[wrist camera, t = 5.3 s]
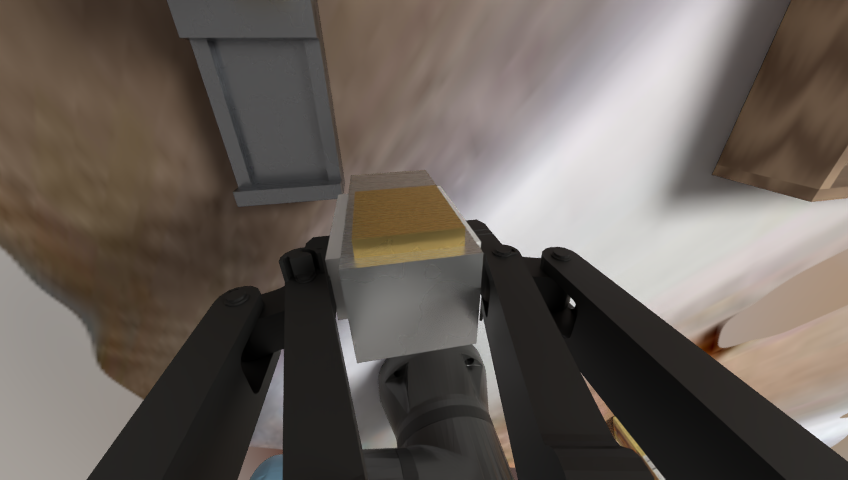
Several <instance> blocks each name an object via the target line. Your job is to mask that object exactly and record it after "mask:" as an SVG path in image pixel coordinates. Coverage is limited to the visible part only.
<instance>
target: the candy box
mask: <svg viewBox="0 0 848 480" xmlns="http://www.w3.org/2000/svg"><path fill="white" fill-rule="evenodd" d="M613 425H614V426H613V427H614V436H615V438H616V439H617V441H618V442H619V444H620V445H621V446H623V447H626V448H630V449H632V450H634V451H635V452H636V453H637V454H638V455H639V456H640V457H641V458H642V460H643V461H644V463H645V464H646V466H647V467H648V469H649V470H650V472H651V473H652V475H653V477H654V479H655V480H665V478H664V477H663V476H662V475H661V473H660V472H659V471H658V470H657V468H656V467H655V466H654V464H653V463H652V462H651V461H650V459H649V458H648V457H647V456H646V454H645V453H644V452H643V451H642V449H641V448H640V447H639V445H638V444H637V443H636V442H635V440H634V439H633V438H632V437H631V435H630V434H629V433H628V432H627V430H626V429H625V428H624V426H623V425H622V424H621V423H620V421H619V420H618V419H617V418H616V416H614V417H613Z"/></svg>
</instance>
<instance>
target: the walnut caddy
mask: <svg viewBox="0 0 848 480" xmlns="http://www.w3.org/2000/svg"><path fill="white" fill-rule="evenodd" d="M712 175H715V176H719V177H722V178H726V179H729V180H733V181H737V182H740V183H744V184H748V185H751V186H755V187H759V188H762V189H766V190H770V191H773V192H777V193H781V194H784V195H788V196H791V197H795V198H799V199H802V200H806V201H810V202H815V201H825V200H834V199H843V198H848V0H791V2H790V5H789V7H788V9H787V11H786V13H785V16H784V18H783V20H782V22H781V24H780V27H779V29H778V31H777V33H776V35H775V38H774V40H773V42H772V44H771V46H770V49H769V51H768V53H767V55H766V57H765V60H764V62H763V64H762V66H761V68H760V71H759V73H758V75H757V77H756V79H755V82H754V84H753V86H752V88H751V90H750V93H749V95H748V97H747V99H746V101H745V104H744V106H743V108H742V110H741V112H740V115H739V117H738V119H737V121H736V123H735V126H734V128H733V130H732V132H731V134H730V137H729V139H728V141H727V143H726V145H725V148H724V150H723V152H722V154H721V156H720V159H719V161H718V163H717V165H716V167H715V170H714V172H713V174H712Z"/></svg>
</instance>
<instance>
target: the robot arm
mask: <svg viewBox="0 0 848 480" xmlns="http://www.w3.org/2000/svg"><path fill="white" fill-rule="evenodd" d="M437 187H438V188H439V190H440V191H441V193H442V194H443V196H444V197H445V198H446V200H447V201H448V203H449V204H450V206H451V207H452V208H453V210H454V211H455V213H456V214H457V216H458V217H459V218H460V220H461V221H462V223H463V224H464V226H465V227H466V228H467V230H468V231H469V233H470V234H471V236H472V237H473V238H474V240H475V241H476V243H477V244H478V246H479V247H480V249H481V250H482V251H483V266H482V278H481V291H480V294H481V296H482V297H481V309H480V321H482V319H484V324H485V328H486V333H487V338H488V342H489V347H490V351H491V356H492V361H493V365H494V370H495V375H496V379H497V384H498V389H499V393H500V398H501V403H502V407H503V412H504V416H505V421H506V426H507V430H508V435H509V440H510V444H511V449H512V454H513V458H514V463H515V468H516V472H517V477H518V480H655V479H654V477H653V475H652V473H651V472H650V470H649V469H648V467H647V466H646V464H645V463H644V461H643V460H642V458H641V457H640V456H639V455H638V454H637V453H636V452H635V451H634V450H632V449H630V448H626V447H623V446H620V445H619V444H618V443H617V442H616V441H615V439H614V437H613V436H612V434H611V432H610V430H609V428H608V426H607V424H606V422H605V420H604V418H603V416H602V414H601V412H600V410H599V408H598V406H597V404H596V402H595V400H594V398H593V396H592V394H591V392H590V390H589V388H588V386H587V384H586V382H585V380H584V378H583V377H582V375H583V376H584V377H585V378H586V380H587V381H588V382H589V383H590V385H591V386H592V387H593V389H594V390H595V391H596V392H597V394H598V395H599V396H600V397H601V399H602V400H603V401H604V402H605V404H606V405H607V406H608V407H609V409H610V410H611V411H612V413H613V414H614V415H615V416H616V418H617V419H618V420H619V421H620V423H621V424H622V425H623V426H624V428H625V429H626V430H627V432H628V433H629V434H630V435H631V437H632V438H633V439H634V440H635V442H636V443H637V444H638V445H639V447H640V448H641V449H642V451H643V452H644V453H645V454H646V456H647V457H648V458H649V459H650V461H651V462H652V463H653V464H654V466H655V467H656V468H657V470H658V471H659V472H660V473H661V475H662V476H663V477H664V478H665V480H848V461H846V460H845V459H844V458H843V457H841V456H840V455H839V454H837V453H836V452H835V451H833V450H832V449H831V448H830V447H828V446H827V445H826V444H824V443H823V442H822V441H820V440H819V439H818V438H816V437H815V436H814V435H813V434H811V433H810V432H809V431H807V430H806V429H805V428H803V427H802V426H801V425H800V424H798V423H797V422H796V421H794V420H793V419H792V418H790V417H789V416H788V415H786V414H785V413H784V412H783V411H781V410H780V409H779V408H777V407H776V406H775V405H773V404H772V403H771V402H770V401H768V400H767V399H766V398H764V397H763V396H762V395H760V394H759V393H758V392H756V391H755V390H754V389H753V388H751V387H750V386H749V385H747V384H746V383H745V382H743V381H742V380H741V379H740V378H738V377H737V376H736V375H734V374H733V373H732V372H730V371H729V370H728V369H726V368H725V367H724V366H723V365H721V364H720V363H719V362H717V361H716V360H715V359H713V358H712V357H711V356H710V355H708V354H707V353H706V352H704V351H703V350H702V349H700V348H699V347H698V346H696V345H695V344H694V343H693V342H691V341H690V340H689V339H687V338H686V337H685V336H683V335H682V334H681V333H680V332H678V331H677V330H676V329H674V328H673V327H672V326H670V325H669V324H668V323H666V322H665V321H664V320H663V319H661V318H660V317H659V316H657V315H656V314H655V313H653V312H652V311H651V310H650V309H648V308H647V307H646V306H644V305H643V304H642V303H640V302H639V301H638V300H636V299H635V298H634V297H633V296H631V295H630V294H629V293H627V292H626V291H625V290H623V289H622V288H621V287H620V286H618V285H617V284H616V283H614V282H613V281H612V280H610V279H609V278H608V277H606V276H605V275H604V274H603V273H601V272H600V271H599V270H597V269H596V268H595V267H593V266H592V265H591V264H590V263H588V262H587V261H586V260H584V259H583V258H582V257H580V256H579V255H578V254H576V253H575V252H573V251H571V250H568V249H566V248H562V247H561V248H560V247H550V248H547V249H545V250H544V251H542V257H541V258H530V257H522V256H521V254H520V252H519V251H518V250H517V249H516V248H514V247H512V246H508V245H502V244H501V243H500V241H499V240H498V239H497V238H496V237H495V236H494V234H492V232H491V231H490V230H489V228H488V227H487V226H486V225H485V224H484V223H482V222H480V221H478V220H468V221H466V220H465V219H464V218H463V216H462V215H461V214H460V212H459V211H458V209H457V208H456V207H455V205H454V204H453V203H452V201H451V200H450V199H449V197H448V196H447V194H446V193H445V192H444V190H443V189H442V188H441V186H437ZM347 201H348V194H339V195H338V199H337V204H336V209H335V213H334V218H333V223H332V228H331V233H330V236H322V237H313V238H312V239H311V240H310V241H308V242H307V243H306V246H305V247H304V248H298V249H294V250H291V251H289V252H287V253H285V254H284V255H283V256H282V257H280V260H279V264H280V268H281V271H282V274H283V277H284V280H285V286H284V287H282V288H280V289H277V290H274V291H271V292H268V293H265V294H262V295H261V293H260V291H259V289H258V288H256V287H253V286H243V287H237V288H234V289H231V290H229V291H227V292H226V293H224V294H222V295H221V296H220V297H219V298H218V299H217V300H216V301H215V302H214V303H213V304H212V306H211V307H210V309H209V310H208V311H207V313H206V314H205V316H204V317H203V318H202V320H201V321H200V323H199V324H198V325H197V327H196V328H195V330H194V331H193V332H192V334H191V335H190V336H189V338H188V339H187V341H186V342H185V343H184V345H183V346H182V348H181V349H180V350H179V352H178V353H177V355H176V356H175V357H174V359H173V360H172V362H171V363H170V364H169V366H168V367H167V369H166V370H165V371H164V373H163V374H162V375H161V377H160V378H159V380H158V381H157V382H156V384H155V385H154V387H153V388H152V389H151V391H150V392H149V394H148V395H147V396H146V398H145V399H144V401H143V402H142V403H141V405H140V406H139V408H138V409H137V410H136V412H135V413H134V414H133V416H132V417H131V419H130V420H129V422H128V423H127V424H126V426H125V427H124V428H123V430H122V431H121V433H120V434H119V436H118V437H117V438H116V440H115V441H114V442H113V444H112V445H111V447H110V448H109V449H108V451H107V452H106V453H105V455H104V456H103V458H102V459H101V460H100V462H99V463H98V465H97V466H96V467H95V469H94V470H93V472H92V473H91V474H90V476H89V477H88V479H87V480H237V479H238V476H239V473H240V470H241V467H242V465H243V461H244V459H245V456H246V453H247V450H248V447H249V444H250V441H251V438H252V435H253V432H254V430H255V427H256V424H257V421H258V418H259V415H260V412H261V409H262V406H263V403H264V400H265V397H266V394H267V392H268V389H269V386H270V383H271V380H272V377H273V374H274V371H275V368H276V365H277V362H278V359H279V356H280V353H281V350H282V349H284V401H283V454H281V455H275V456H272V457H270V458H268V459H267V460H265V461H264V462H263V463H262V464H260V466H259V467H258V468H257V469H256V470H255V472H254V473H253V475H252V477H251V478H250V480H514V477H513V475H512V472H511V470H510V467H509V464H508V462H507V459H506V457H505V454H504V451H503V449H502V446H501V444H500V441H499V438H498V436H497V433H496V431H495V428H494V426H493V423H492V420H491V418H490V415H489V411H488V395H487V379H486V370H485V366H484V364H483V361H482V359H481V357H480V354H479V352H478V351H477V349H476V348H475V347H474V346H473V345H472V344H470V345H464V346H458V347H452V348H446V349H440V350H433V351H427V352H421V353H415V354H409V355H403V356H397V357H391V358H388V359H387V360H386V361H385V363H384V364H383V366H382V368H381V370H380V373H379V377H378V384H379V397H380V401H381V404H382V406H383V408H384V411H385V413H386V416H387V418H388V420H389V423H390V425H391V427H392V430H393V432H394V434H395V437H396V440H397V448H383V449H362V446H361V441H360V436H359V431H358V426H357V421H356V416H355V411H354V406H353V401H352V397H351V392H350V387H349V382H348V377H347V372H346V367H345V362H344V357H343V352H342V347H341V342H340V337H339V332H338V328H337V323H336V319H335V318H336V312H337V316H338V320H342V319H348V315H347V310H346V305H345V300H344V295H343V290H342V285H341V280H340V274H339V264H340V256H341V248H342V240H343V232H344V225H345V217H346V209H347ZM570 298H572V299H573V300H574V302H575V304H576V306H575V307H573V306H572V305H571V304H570V303H569V302H570ZM580 372H581V373H582V375H581V373H580Z"/></svg>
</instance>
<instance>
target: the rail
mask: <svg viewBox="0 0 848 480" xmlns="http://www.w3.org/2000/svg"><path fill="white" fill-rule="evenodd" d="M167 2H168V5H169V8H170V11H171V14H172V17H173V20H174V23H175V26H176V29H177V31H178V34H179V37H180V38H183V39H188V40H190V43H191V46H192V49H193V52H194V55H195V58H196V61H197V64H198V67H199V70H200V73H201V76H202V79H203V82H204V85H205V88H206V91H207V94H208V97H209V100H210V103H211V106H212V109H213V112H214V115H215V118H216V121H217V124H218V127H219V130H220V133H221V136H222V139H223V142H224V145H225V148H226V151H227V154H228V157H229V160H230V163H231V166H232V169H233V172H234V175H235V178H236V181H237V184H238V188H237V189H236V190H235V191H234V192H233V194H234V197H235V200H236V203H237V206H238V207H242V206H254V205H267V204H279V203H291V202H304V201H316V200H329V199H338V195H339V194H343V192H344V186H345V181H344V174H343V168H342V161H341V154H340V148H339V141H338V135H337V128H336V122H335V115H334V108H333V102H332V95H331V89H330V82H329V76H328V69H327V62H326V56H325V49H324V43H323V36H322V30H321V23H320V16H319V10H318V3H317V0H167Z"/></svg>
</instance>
